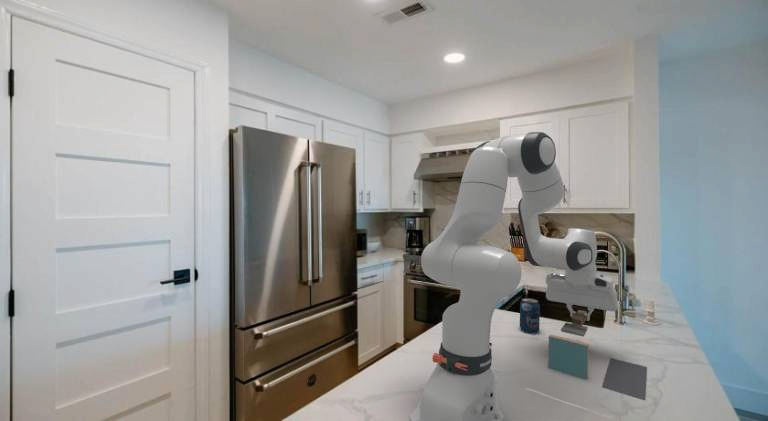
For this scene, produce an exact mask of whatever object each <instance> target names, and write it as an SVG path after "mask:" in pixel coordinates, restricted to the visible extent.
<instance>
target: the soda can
mask: <svg viewBox="0 0 768 421" xmlns="http://www.w3.org/2000/svg"><path fill="white" fill-rule="evenodd" d="M540 311H541V305H540V304H539V300H538V299H534V298H531V297H530V298H529V297H525V298H521V301H520V303H519V327H520V328H519V329H520V330H521V332H523V333H525V334H528V335H529V334H530V335H536V334H538V333H539V331H540V314H541V312H540Z"/></svg>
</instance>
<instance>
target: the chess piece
mask: <svg viewBox="0 0 768 421" xmlns="http://www.w3.org/2000/svg"><path fill="white" fill-rule="evenodd" d="M644 310H645V311H647V315H646V316H645V317H646V319H643V320H642V322H643V323H644V324H645V325H649V324H651V325H650V326H660V323H659V322H658V321H656V320H657V318H656V317H655V313H657V312H658V311H657V310H655V300H654V299H653V298H649V301H648V308H645V309H644Z"/></svg>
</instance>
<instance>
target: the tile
mask: <svg viewBox="0 0 768 421" xmlns="http://www.w3.org/2000/svg"><path fill="white" fill-rule="evenodd" d="M547 352H548V354H547V355H548V358H547V368H548V369H550V370H553V371H557V372H561V373H564V374H568V375H570V376H574V377H576V378H580V379H584V380H588V379H589V377H590V376H589V370H590V365H589V364H590V358H589V357H590V343H588V342H583V341H579V340H575V339H570V338H568V337H567V338H566V337H562V336H558V335H554V334H549V335H548V351H547Z"/></svg>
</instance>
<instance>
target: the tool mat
mask: <svg viewBox="0 0 768 421" xmlns="http://www.w3.org/2000/svg"><path fill="white" fill-rule="evenodd" d="M647 374H648V366H645V365H640V364H636V363H632V362H628V361H625V360H622V359H621V360H620V359H616V358H613V357H610V358H609V362H608V366H607V368H606V372H605V374H604V378H603V381H602V385H601V388H602V389H606V390H609V391H612V392H616V393H620V394H623V395H626V396H629V397H632V398H636V399H638V400H642V401H646V397H647V396H646V394H647V379H648V378H647V376H648V375H647Z"/></svg>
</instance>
